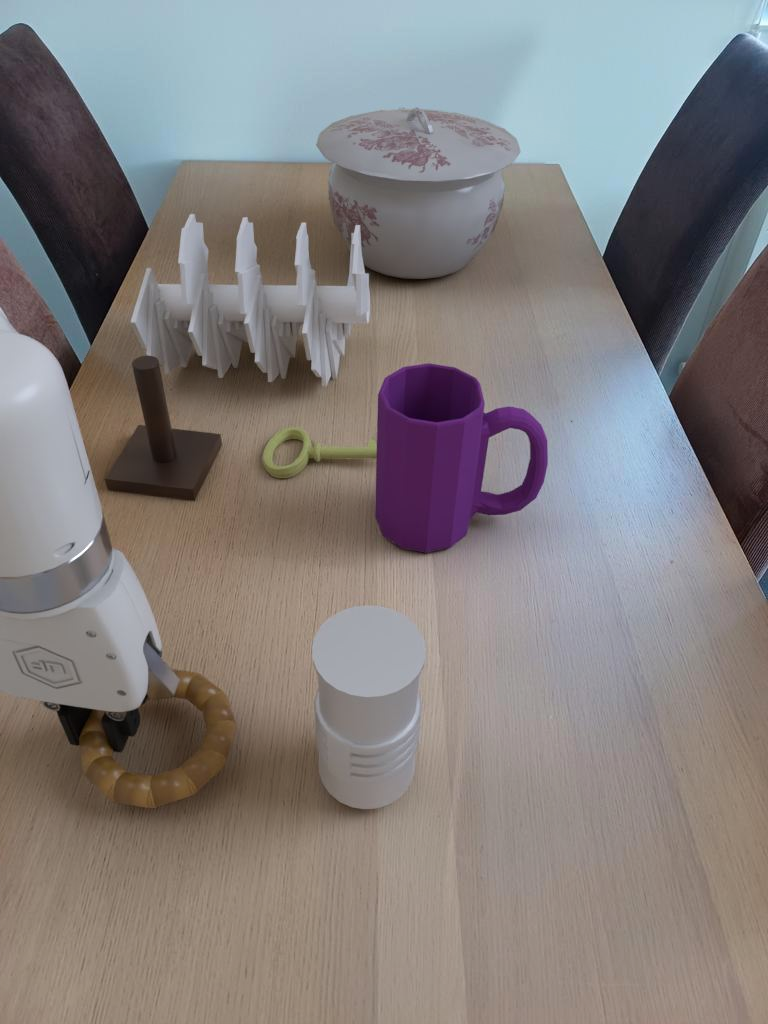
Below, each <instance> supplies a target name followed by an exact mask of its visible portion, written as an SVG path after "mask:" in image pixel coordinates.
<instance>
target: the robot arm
mask: <svg viewBox="0 0 768 1024" xmlns="http://www.w3.org/2000/svg"><path fill="white" fill-rule="evenodd" d="M79 425H80V423H79V421H78V417H77V415H76V411H75V406H74V402H73V399H72V396H71V392H70V388H69V385H68V381H67V379H66V376H65V373H64V370H63V368H62V365H61V363H60V362H59V360H58V358H56V357H55V355H54V354H53V353H52V351H51V350H50V349H49V348H48V347H46V346H45V345H44V344H43V343H41V342H40V341H38V340H36V339H34V338H33V337H30V336H29V335H25V334H21V333H19V332H18V331H17V330H16V328H15V327H13V325H12V324H11V323H10V321H9V319H8V317H7V315H6V313H5V312H4V310H3V309H2V307H1V306H0V693H3V694H5V695H7V696H8V695H9V696H11V697H16V698H17V697H18V698H22V699H26V700H27V699H28V700H32V701H40V702H41V704H42V706H43V707H44V708H45V709H47V710H49V711H52V712H56V715H57V717H58V720H59V722H60V724H61V727H62V729H63V731H64V734H65V736H66V738H67V741H68V742H69V745H71V746H77V747H78V746H80V745H79V736H80V734H81V731H82V729H83V727H84V725H85V723H86V721H87V719H88V717H89V715H90V713H91V711H92V709H96V710H103V711H105V713H104V715H103V717H102V721H101V723H102V726H103V729H104V731H105V734H106V737H107V740H108V742H109V744H110V745H111V748H112V752H115V753H122V752H123V751H124V749H125V747H126V744H127V742H128V740H129V738H130V737H132V738H133V737H135V736H136V734H137V732H138V730H139V727H140V723H141V714H140V711H139V708H140V707H142V706H143V705H145V704H146V702H147V701H146V700H148V701H152V702H155V701H162V700H170V699H173V698H174V695H175V693H176V690H177V688H178V685H179V683H180V679H179V677H178V676H177V675H176V674H175V673H174V672H173V671H172V670H171V669H172V668H171V667H170V666H169V664H167V663H166V661H165V660H164V659H163V658H162V656H163V644H162V640H161V636H160V632H159V628H158V624H157V622H156V619H155V616H154V613H153V610H152V608H151V605H150V602H149V600H148V597H147V595H146V593H145V591H144V588H143V587H142V585H141V582H140V580H139V578H138V577H137V574H136V573H135V571H134V569H133V568H132V566H131V564H130V562H129V561H128V559H127V558H126V556H125V555H124V553H123V551H121V550H118V549H117V548H114V547H113V544H112V540H111V536H110V532H109V530H108V525H107V523H106V518H105V515H104V511H103V508H102V504H101V501H100V497H99V494H98V493H99V492H98V490H97V486H96V483H95V482H96V481H95V479H94V475H93V472H92V468H91V465H90V461H89V457H88V454H87V449H86V446H85V443H84V439H83V436H82V431H81V428H80V426H79ZM149 699H151V700H149Z"/></svg>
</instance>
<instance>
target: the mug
mask: <svg viewBox="0 0 768 1024" xmlns="http://www.w3.org/2000/svg"><path fill="white" fill-rule="evenodd" d="M482 389H483V388H482V386H481V383H480V381H479V380H478V378H477V377H475V376H473V375H471V374H470V373H467V372H465V371H463V370H461V369H459V368H457V367H455V366H449V365H442V364H436V363H430V362H429V363H421V364H414V365H407V366H402V367H400V368H399V369H398V370H397V369H396V371H393V372H392V373H391V374H389V375H387V376H385V377H384V380H383V381H382V384H381V386H380V389H379V391H378V394H377V418H376V420H377V421H376V422H377V423H376V442H377V456H376V459H375V460H376V462H375V463H376V465H375V471H376V472H375V498H374V499H375V501H374V502H375V504H374V505H375V506H374V519H375V521H376V523H377V525H378V528H379V530H380V532H381V535H382V537H385V539H387V540H388V541H390V542H391V543H393V544H394V545H396V546H397V547H399V548H400V549H403V550H409V551H410V550H411V551H415V552H421V553H425V554H427V553H432V552H436V551H442V550H446V549H451V548H452V547H453V546H455V545H456V544H457V543H458V542H460V541H461V540H462V539H463V538H465V537H466V536H467V534H468V530H469V525H470V520H471V519H472V518H473V517H474V516H475V515H476V514H477V513H478V514H482V515H484V516H485V515H486V516H505V515H509V514H512V513H517V512H520V511H522V510H523V509H524V508H526V507H527V506H528V505H530V504H531V503H532V502H533V501H534V500H536V499H537V497H538V495H539V494H540V491H541V489H542V487H543V485H544V483H545V479H546V474H547V469H548V465H549V464H548V463H549V461H548V460H549V459H548V458H549V457H548V452H549V451H548V449H549V448H548V438H547V435H546V433H545V430H544V428H543V425H542V424H541V423H540V421H538V420H537V419H536V418H535V417H534V416H533V415H532V414H531V413H530V412H529V411H527V410H526V409H524V408H520V407H514V406H510V405H509V406H503V407H498V408H495V409H493V410H491V411H488V412H485V406H486V405H485V399H484V395H483V390H482ZM510 429H514V430H519V431H521V432H523V433H525V435H526V436H527V438H528V441H529V460H528V461H529V462H528V465H527V469H526V474H525V477H524V479H523V481H522V483H521V484H520V485H518V486H517V487H515V488H514V489H512V490H510V491H506V492H502V493H501V494H500V493H499V494H498V493H493V492H488V491H482V489H483V479H484V474H485V468H486V467H485V466H486V460H487V454H488V448H489V440H490V438H491V437H494V436H496V435H498V434H500V433H502V432H505V431H506V430H510Z"/></svg>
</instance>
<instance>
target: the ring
mask: <svg viewBox="0 0 768 1024" xmlns="http://www.w3.org/2000/svg"><path fill="white" fill-rule="evenodd" d="M171 670H172V671H173V672H174V673H175V674H176V675H177V676H178V677H179V679H180V683H179V685H178V688H177V690H176V693H175V695H174V697H173V698H174V699H181V700H187V701H188V702H190V703H191V704H192V705H193V706H195V707H196V709H198V710H199V711H200V712H201V713H202V717H203V721H204V725H205V728H206V729H205V733H204V735H203V738H202V741H201V744H200V747H199V749H198V750H197V751H195V753H193V754H192V755H191V756H190V757H189V758H188V759H187V760H186V761H185V762H184V763H183V764H181V766H179V767H176V768H173V769H170V770H166V771H163V772H160V773H156V774H154V775H152V774H145V773H139V772H133V771H128V770H127V769H126V768H125V767H124V766H123V765H122V764H121V763H119V762H118V761H117V760H116V759H115V758H114V754H113V750H112V748H111V745H110V744H109V742H108V740H107V737H106V734H105V731H104V729H103V726H102V723H101V721H102V717H103V715H104V713H105V711H103V710H96V709H92V711H91V713H90V715H89V717H88V719H87V721H86V723H85V725H84V727H83V729H82V731H81V734H80V736H79V745H78V746H79V752H80V759H81V767H82V772H83V773H82V774H83V775H84V777H85V778H86V779H87V780H88V781H89V782H90V783H91V784H92V785H93V786H94V787H96V789H97V790H98V791H99V792H101V794H102V795H103V796H104V797H106V798H107V800H109V801H111V802H112V803H115V804H121V805H128V806H133V807H134V806H135V807H140V808H146V809H155V808H159V807H162V806H164V805H168V804H171V803H174V802H177V801H181V800H183V799H186V798H190V797H192V796H194V795H196V794H197V793H198V792H199V791H200V790H202V788H203V787H204V786H205V785H206V784H208V783H209V781H210V780H212V778H213V777H215V776H216V775H217V774H218V773H219V772H220V771H221V770H223V768H224V767H225V766H226V762H227V760H228V757H229V754H230V752H231V749H232V745H233V741H234V739H235V735H236V733H237V725H236V721H235V718H234V713H233V711H232V707H231V703H230V700H229V697H228V695H227V694H226V692H224V691H223V690H222V689H221V688H220V687H218V686H217V685H216V684H214V683H213V682H212V681H211V680H209V678H207V677H205V676H204V675H203V674H201V673H199V672H195V671H191V670H190V671H189V670H184V669H183V670H182V669H176V668H171ZM148 701H152V700H151V699H149V700H146V702H148Z"/></svg>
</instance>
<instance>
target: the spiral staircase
mask: <svg viewBox="0 0 768 1024" xmlns="http://www.w3.org/2000/svg"><path fill="white" fill-rule="evenodd" d="M295 242H296V244H295V245H296V247H295V255H294V269H295V272H296V280H295V285H293V284H292V285H291V284H290V285H287V284H286V285H283V284H277V285H276V284H264V282H263V277H262V274H261V265H260V264H258V263H257V256H258V255H257V254H258V247H257V245H256V243H255V234H254V222H253V221H252V222H250V221H249V219H248V217H247V216H243V217H242V220H241V223H240V224H239V229H238V232H237V236H236V249H235V250H236V251H235V265H234V273H235V274H236V275H235V276H237V284H210V276H209V266H208V261H209V252H210V251H209V248H208V246H207V244H206V242H205V239H204V223H203V222H197V219H196V214H195V213H190V214H189V215H188V217H187V220H186V222H185V224H184V226H183V227H181V232H180V240H179V251H178V258H177V259H178V260H177V265H178V266H179V273H180V283H158V281H157V279H156V277H155V274H154V271H153V269H152V267H147V268H146V270H145V273H144V276H143V280H142V283H141V286H140V290H139V293H138V296H137V300H136V303H135V306H134V309H133V313H132V316H131V319H130V325H131V327H132V329H133V332H134V334H135V336H136V338H137V341H138V342H139V345H140V348H141V349H143V350H144V349H146V355H145V356H147V355H148V356H154V357H156V358H157V359H158V361H159V366H163V370H164V374H165V375H170V374H171V373H172V371H173V370H174V369H176V368H177V366H178V365H179V364H181V366H182V368H187V367H188V363H189V360H190V357H191V356H190V355H191V351H192V347H194V350H195V352H196V354H197V356H198V357H199V356H200V357H201V359H202V361H201V363H202V366H204V367H207V368H209V369H211V370H217V377H218V379H223V378H224V377H225V375H226V373H227V371H228V370H229V368H230V366H231V364H232V368H234V369H235V368H239V360H240V356H241V350H242V344H243V342H245V343H246V342H247V343H248V347H249V351H250V353H252V354H254V364H256V366H257V367H258V368H259V370H261V372H262V373H263V374H264V373H265V374H266V373H267V382H268V383H273V382H274V381H275V379H276V378H277V377H278V376H279V374H280V379H283V380H286V378H287V373H288V368H289V364H290V363H289V362H290V358H291V359H296V347H297V346H296V344H297V337H298V335H299V332H300V329H301V327H302V330H301V331H302V332H301V335H302V341H303V346H304V352H305V356H306V357H305V358H306V360H307V361H311V362H310V363H311V364H310V365H311V366H310V367H311V368H310V371H312V373H313V374H314V375H315V376H316V378H321V387H327V386H328V384H329V381H330V379H331V378H332V380H333V381H338V374H339V373H338V372H339V365H340V358H341V357H345V352H346V351H345V350H346V349H345V348H346V339H349V338H350V335H351V330H352V326H354V325H356V324H369V323H370V316H371V295H370V294H371V292H370V273H369V272H367V273H366V270H365V269H366V268H365V265H364V264H363V258H362V250H361V232H360V225H356V226H355V231H354V233H351V250H350V256H349V269H348V270H349V271H348V278H347V283H346V285H317V279H316V270H315V269H313V268H312V265H311V261H310V251H309V234H308V230H307V222H301V223H300V226H299V229H298V230H297V234H296V236H295Z"/></svg>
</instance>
